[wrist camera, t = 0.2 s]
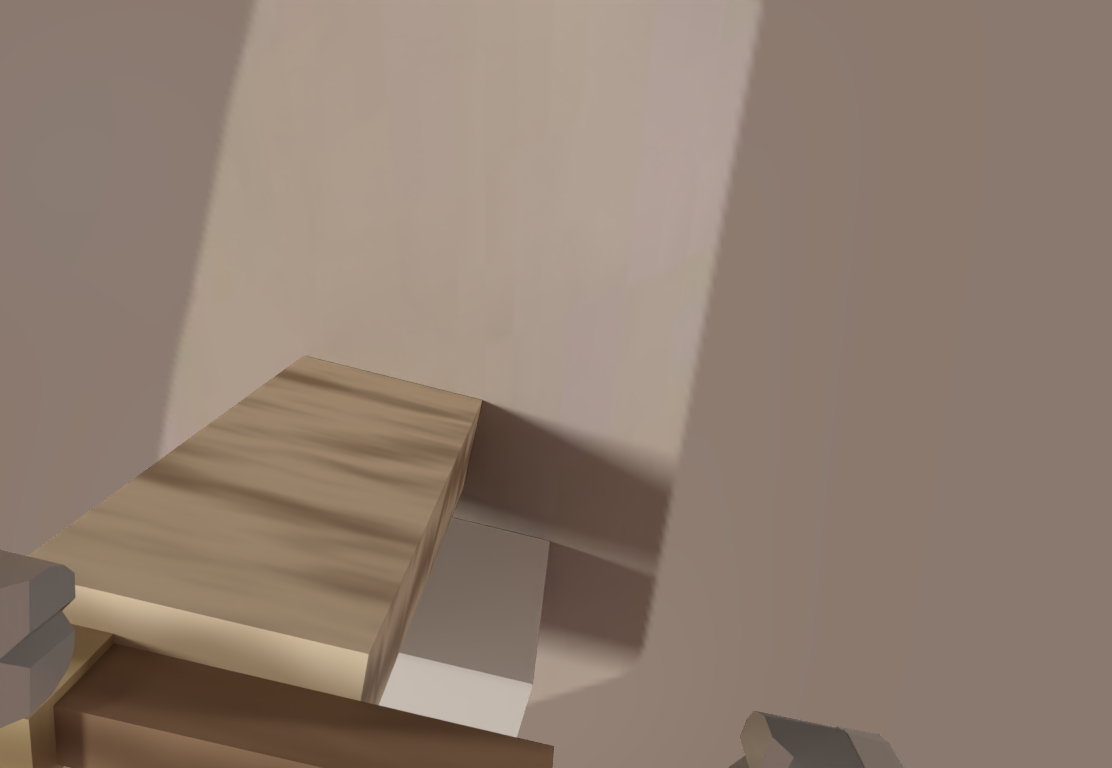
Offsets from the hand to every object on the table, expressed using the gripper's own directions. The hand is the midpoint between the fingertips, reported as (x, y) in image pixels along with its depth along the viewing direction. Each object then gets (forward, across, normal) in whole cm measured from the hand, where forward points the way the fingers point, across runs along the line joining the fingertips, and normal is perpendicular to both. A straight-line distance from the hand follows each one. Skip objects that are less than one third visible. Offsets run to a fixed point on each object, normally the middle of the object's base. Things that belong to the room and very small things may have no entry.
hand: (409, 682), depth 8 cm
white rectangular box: (+42, +5, +24) cm, 48 cm away
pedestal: (+41, +10, +13) cm, 44 cm away
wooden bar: (+15, +7, +16) cm, 23 cm away
